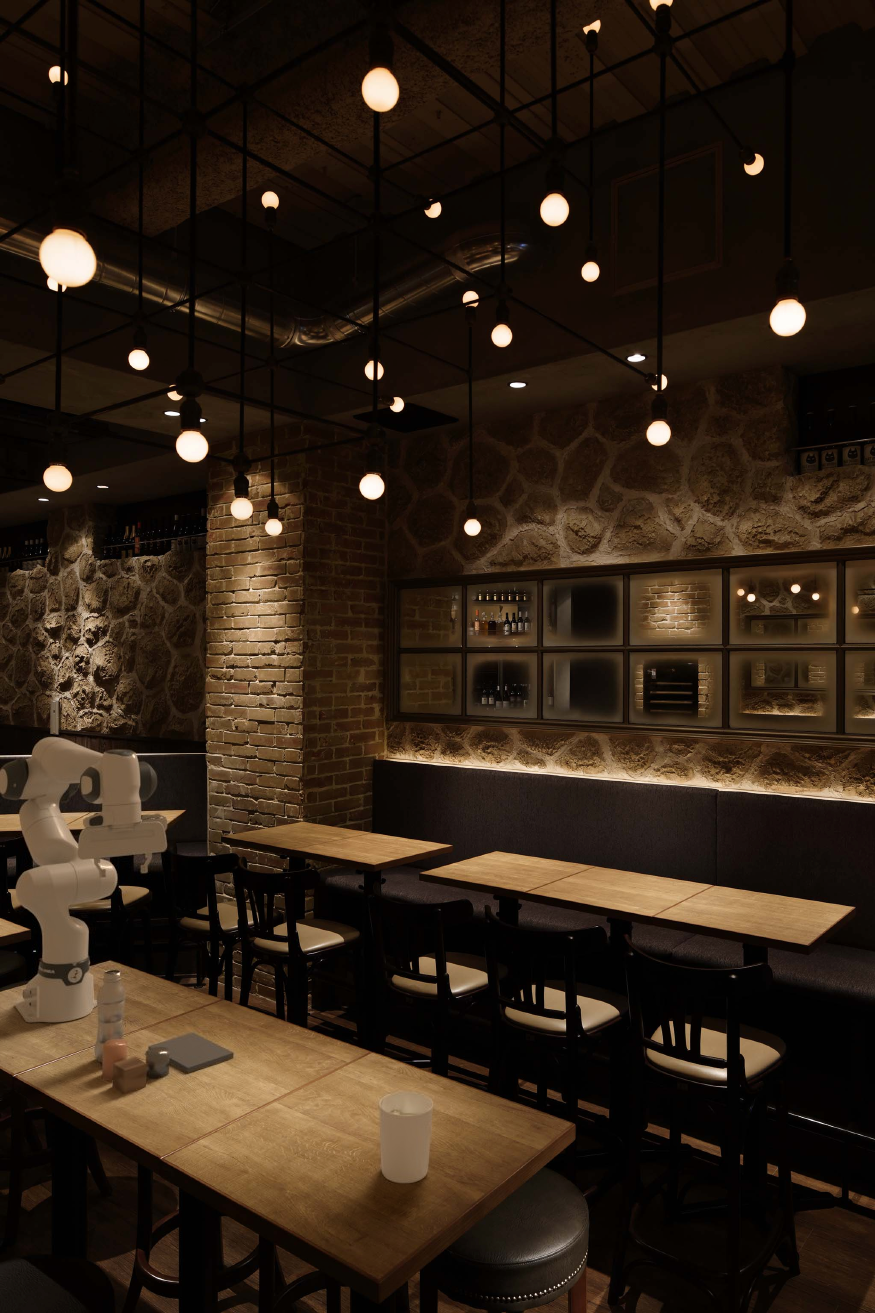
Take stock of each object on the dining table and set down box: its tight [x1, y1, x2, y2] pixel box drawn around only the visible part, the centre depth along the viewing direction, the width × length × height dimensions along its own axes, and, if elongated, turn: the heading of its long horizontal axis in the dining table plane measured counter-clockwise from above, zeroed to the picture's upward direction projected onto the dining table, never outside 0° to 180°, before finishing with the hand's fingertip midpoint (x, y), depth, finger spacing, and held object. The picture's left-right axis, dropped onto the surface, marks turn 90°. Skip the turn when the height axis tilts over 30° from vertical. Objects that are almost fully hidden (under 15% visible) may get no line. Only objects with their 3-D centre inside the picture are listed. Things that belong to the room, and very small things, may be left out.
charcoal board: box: [147, 1032, 235, 1074], centre depth 208 cm, size 17×12×1 cm
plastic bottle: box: [93, 969, 127, 1063], centre depth 204 cm, size 6×7×20 cm
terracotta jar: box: [101, 1038, 128, 1081], centre depth 196 cm, size 5×5×7 cm
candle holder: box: [378, 1090, 434, 1184], centre depth 160 cm, size 10×10×12 cm
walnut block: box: [112, 1056, 147, 1095], centre depth 190 cm, size 5×5×5 cm
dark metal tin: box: [145, 1047, 170, 1080], centre depth 197 cm, size 5×5×5 cm
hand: (123, 875), depth 212 cm, fingers open, 8 cm apart
